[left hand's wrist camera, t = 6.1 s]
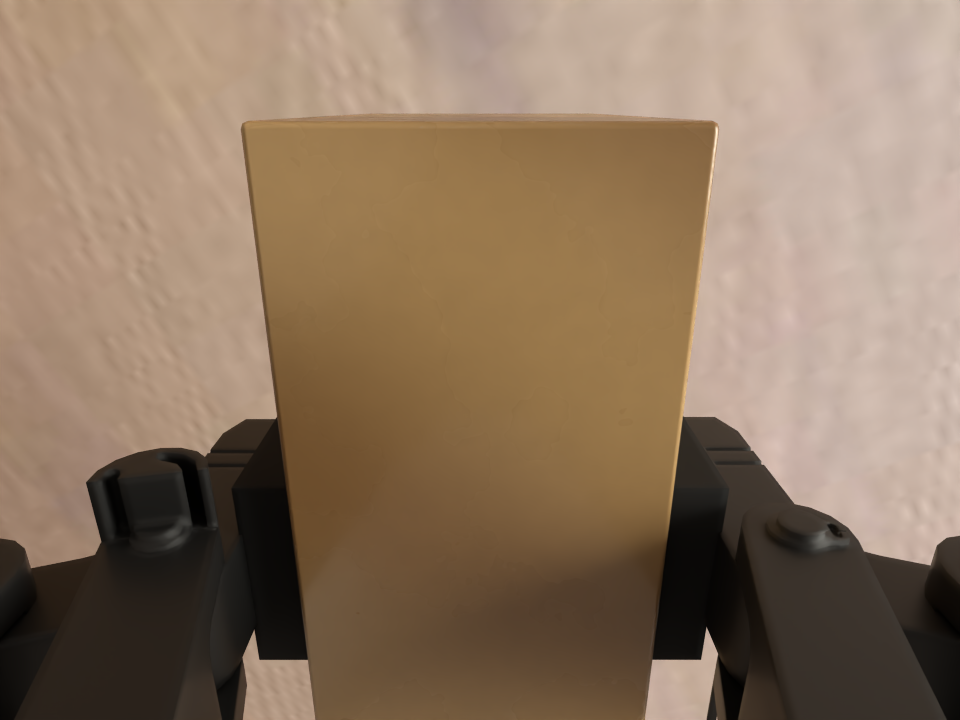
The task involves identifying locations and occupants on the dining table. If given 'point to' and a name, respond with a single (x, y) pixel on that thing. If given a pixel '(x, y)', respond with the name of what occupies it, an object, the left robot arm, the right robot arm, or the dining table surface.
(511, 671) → the bar
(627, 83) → the dining table surface
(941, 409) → the dining table surface
